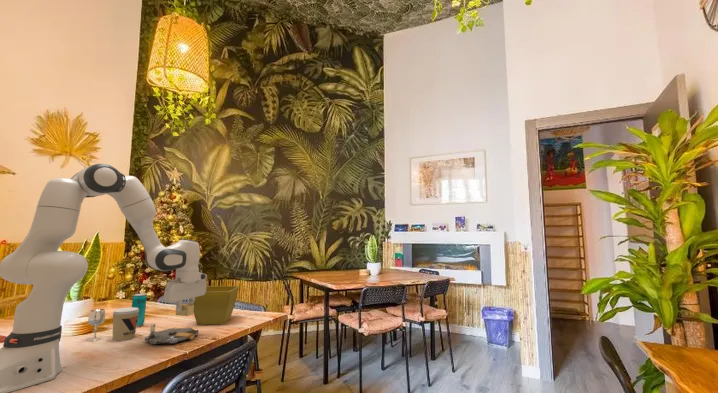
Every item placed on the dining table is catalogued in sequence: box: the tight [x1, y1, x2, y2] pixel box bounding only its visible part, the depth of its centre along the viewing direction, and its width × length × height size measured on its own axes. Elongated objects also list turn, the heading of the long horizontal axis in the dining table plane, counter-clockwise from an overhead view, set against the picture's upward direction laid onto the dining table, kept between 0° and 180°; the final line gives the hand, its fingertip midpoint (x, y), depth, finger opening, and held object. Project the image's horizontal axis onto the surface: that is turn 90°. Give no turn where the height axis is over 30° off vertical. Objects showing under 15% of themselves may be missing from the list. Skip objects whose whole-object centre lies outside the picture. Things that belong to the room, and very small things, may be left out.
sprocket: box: [144, 323, 199, 345], centre depth 141 cm, size 20×20×6 cm
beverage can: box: [131, 293, 147, 328], centre depth 161 cm, size 6×6×15 cm
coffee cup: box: [112, 306, 139, 342], centre depth 142 cm, size 9×9×12 cm
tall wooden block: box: [175, 303, 194, 317], centre depth 141 cm, size 4×6×4 cm, turn 75°
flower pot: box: [193, 285, 240, 326], centre depth 170 cm, size 19×19×17 cm
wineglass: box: [87, 308, 106, 342], centre depth 140 cm, size 6×6×12 cm
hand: (184, 309), depth 141 cm, fingers closed on tall wooden block, 3 cm apart
